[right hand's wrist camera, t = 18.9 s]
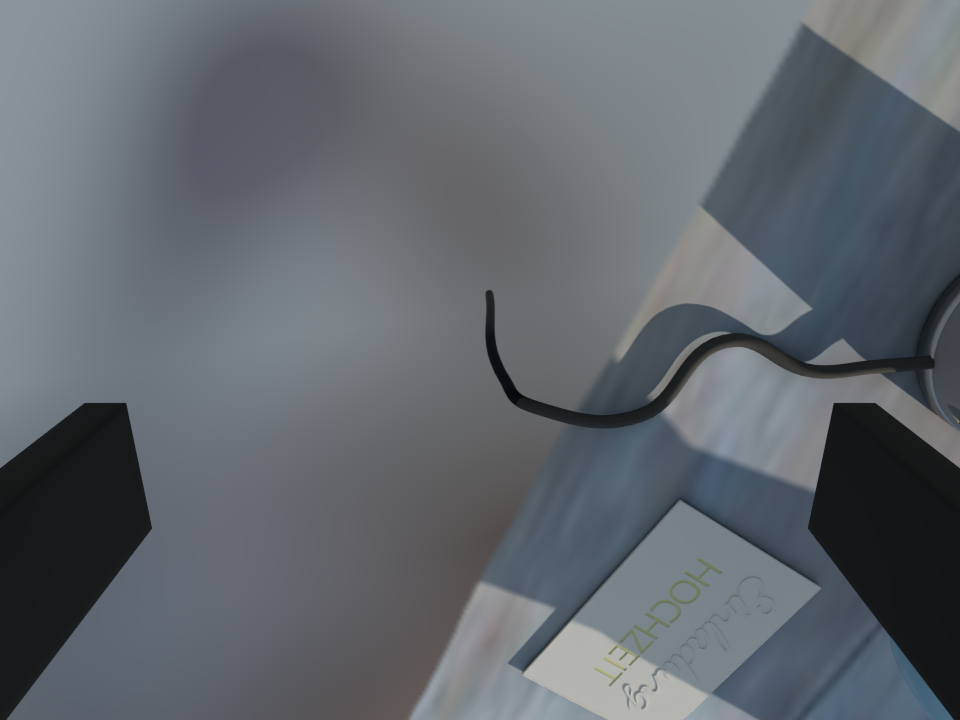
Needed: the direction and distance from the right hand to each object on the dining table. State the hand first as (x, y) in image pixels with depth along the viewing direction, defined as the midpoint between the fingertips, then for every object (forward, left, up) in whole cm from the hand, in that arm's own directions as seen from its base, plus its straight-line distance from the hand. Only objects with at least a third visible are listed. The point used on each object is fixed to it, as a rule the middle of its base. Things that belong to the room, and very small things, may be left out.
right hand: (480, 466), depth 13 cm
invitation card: (+14, -36, -34) cm, 52 cm away
